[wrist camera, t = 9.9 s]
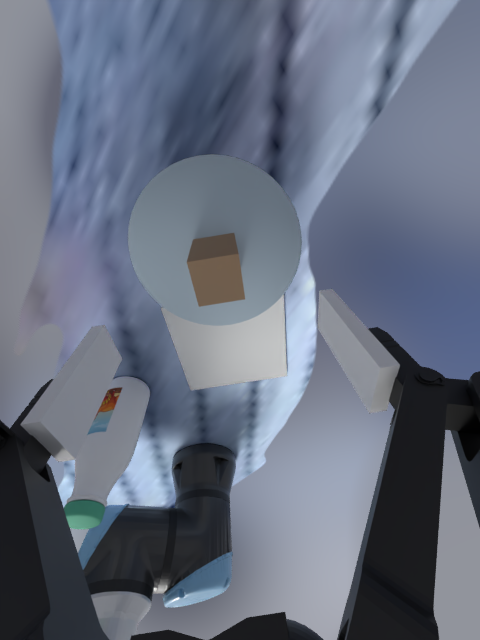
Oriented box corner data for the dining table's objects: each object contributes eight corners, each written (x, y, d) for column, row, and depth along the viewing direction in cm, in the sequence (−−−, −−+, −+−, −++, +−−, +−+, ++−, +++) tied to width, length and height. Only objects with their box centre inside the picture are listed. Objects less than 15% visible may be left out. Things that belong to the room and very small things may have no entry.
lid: (299, 308, 31) (318, 345, 25) (162, 330, 31) (149, 372, 25) (298, 138, 21) (329, 133, 15) (99, 172, 21) (55, 179, 15)
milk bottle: (144, 372, 44) (100, 506, 27) (155, 400, 48) (123, 531, 32) (100, 377, 44) (28, 514, 27) (115, 405, 48) (61, 538, 31)
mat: (286, 373, 47) (286, 376, 46) (191, 388, 47) (190, 390, 46) (282, 287, 37) (283, 289, 36) (161, 306, 37) (160, 308, 36)
